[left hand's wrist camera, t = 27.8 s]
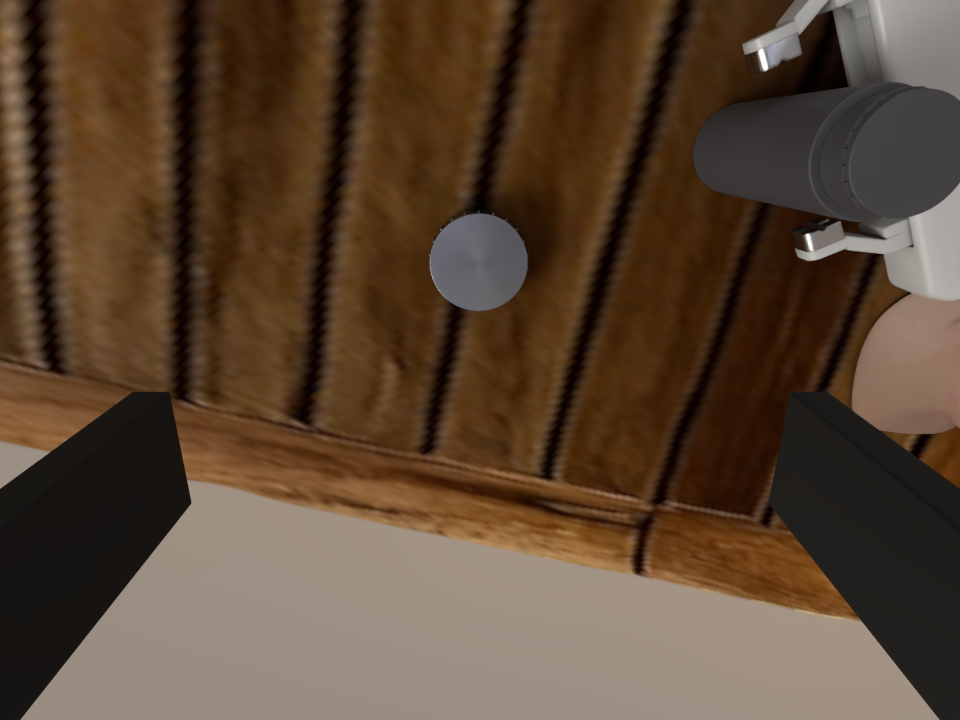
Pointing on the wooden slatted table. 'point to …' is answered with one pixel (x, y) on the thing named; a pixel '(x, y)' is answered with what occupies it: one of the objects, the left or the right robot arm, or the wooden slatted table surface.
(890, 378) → the anatomical model
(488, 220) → the lid
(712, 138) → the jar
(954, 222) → the right robot arm
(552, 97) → the wooden slatted table surface
